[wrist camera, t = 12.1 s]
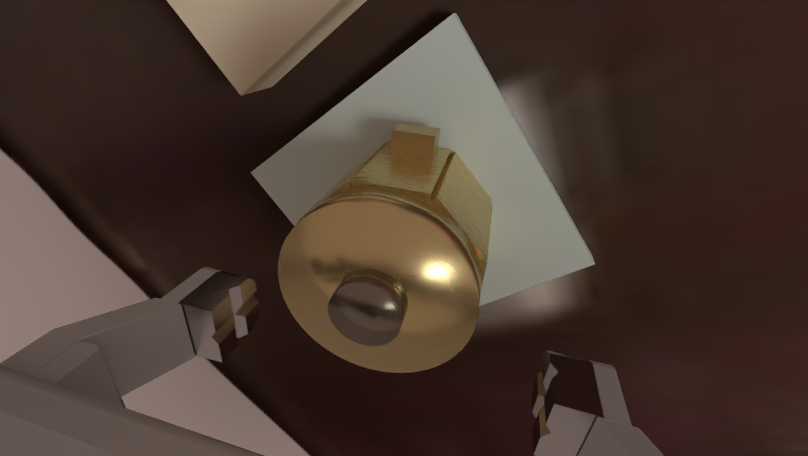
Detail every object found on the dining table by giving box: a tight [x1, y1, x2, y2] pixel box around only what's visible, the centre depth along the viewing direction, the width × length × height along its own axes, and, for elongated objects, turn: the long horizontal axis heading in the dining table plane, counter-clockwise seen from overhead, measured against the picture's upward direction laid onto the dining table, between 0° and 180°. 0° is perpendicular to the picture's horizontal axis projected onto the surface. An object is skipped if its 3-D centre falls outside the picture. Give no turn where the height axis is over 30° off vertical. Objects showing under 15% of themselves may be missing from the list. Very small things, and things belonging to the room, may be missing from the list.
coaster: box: [251, 13, 595, 306], centre depth 15 cm, size 10×10×1 cm
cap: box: [278, 123, 493, 373], centre depth 12 cm, size 6×7×6 cm
